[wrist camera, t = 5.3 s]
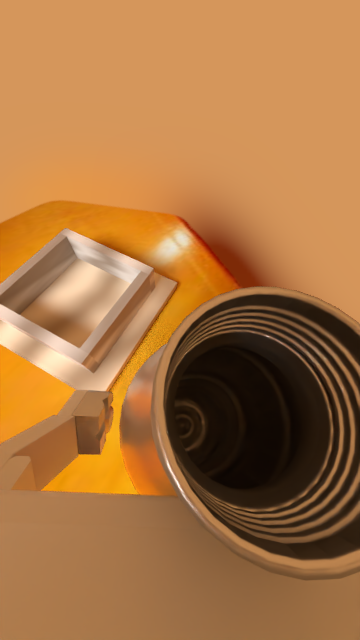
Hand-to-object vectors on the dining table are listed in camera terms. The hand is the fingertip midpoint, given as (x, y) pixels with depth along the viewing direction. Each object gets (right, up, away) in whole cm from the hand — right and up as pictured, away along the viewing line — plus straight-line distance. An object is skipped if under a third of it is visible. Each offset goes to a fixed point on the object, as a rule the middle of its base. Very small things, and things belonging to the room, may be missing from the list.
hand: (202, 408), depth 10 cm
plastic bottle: (-1, -6, +11) cm, 13 cm away
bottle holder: (-12, +6, +16) cm, 21 cm away
